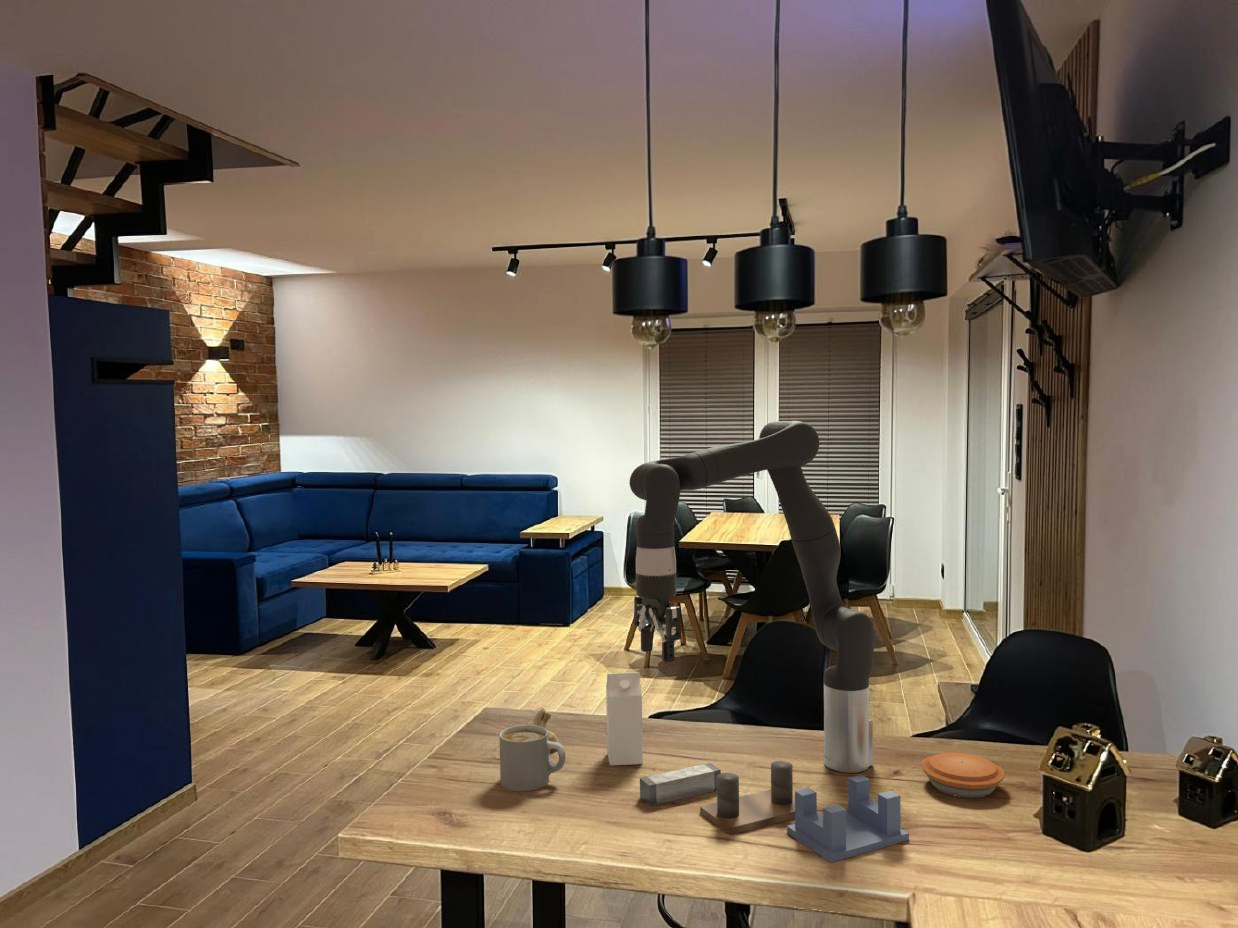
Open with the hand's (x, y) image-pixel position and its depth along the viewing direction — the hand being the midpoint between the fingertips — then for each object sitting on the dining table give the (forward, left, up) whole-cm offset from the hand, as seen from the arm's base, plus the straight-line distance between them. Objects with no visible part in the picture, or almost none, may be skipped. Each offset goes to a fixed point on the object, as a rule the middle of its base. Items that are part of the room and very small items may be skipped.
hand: (657, 656), depth 165 cm
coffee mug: (+17, -23, -30) cm, 41 cm away
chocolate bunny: (+9, -38, -30) cm, 49 cm away
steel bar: (-7, -4, -29) cm, 30 cm away
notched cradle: (-24, +25, -29) cm, 45 cm away
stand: (-15, +10, -29) cm, 34 cm away
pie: (-58, +19, -30) cm, 68 cm away
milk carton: (-5, -25, -30) cm, 39 cm away
